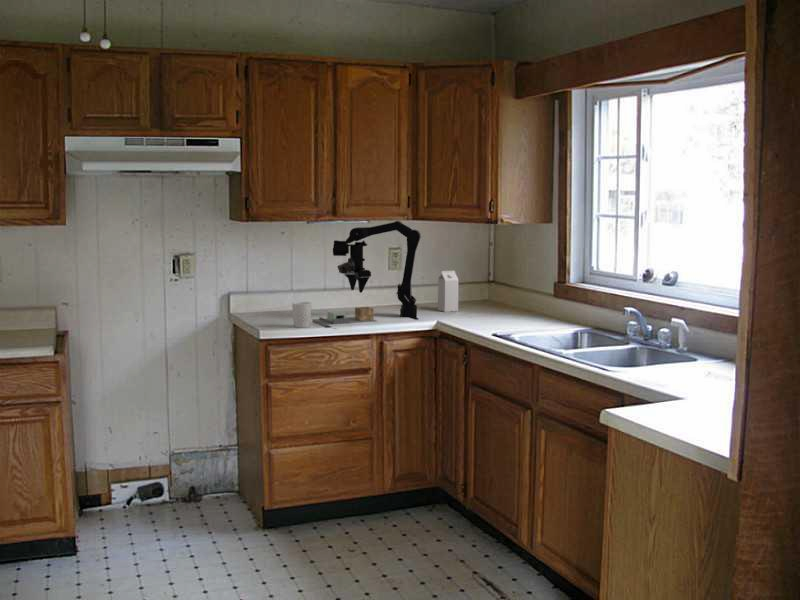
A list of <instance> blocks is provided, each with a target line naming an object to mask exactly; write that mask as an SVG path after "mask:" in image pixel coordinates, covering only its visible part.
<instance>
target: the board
mask: <svg viewBox="0 0 800 600" xmlns="http://www.w3.org/2000/svg"><path fill="white" fill-rule="evenodd" d="M373 322H374V323H375V322H377V320H376V319H374V318H373V320H368V321H359V320H356V319H355V316H347V318H343V319H339V318H336V319H333V322H332V321H329V320H327V318H325V317H318V318H315V319H312V323H314V324H316V325H318V326H321V327H324V328H326V329H327V328H332V326H333V325H346V324H358V323H359V324H360V323H373ZM331 325H332V326H331Z"/></svg>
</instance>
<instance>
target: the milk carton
mask: <svg viewBox="0 0 800 600" xmlns="http://www.w3.org/2000/svg"><path fill="white" fill-rule="evenodd" d="M437 311H440V312H444V313H449V312H451V311H452V312H458V311H459V277H458V275H457V273H456V270H442V271H441V274H440V275H439V276H438V278H437Z"/></svg>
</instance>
